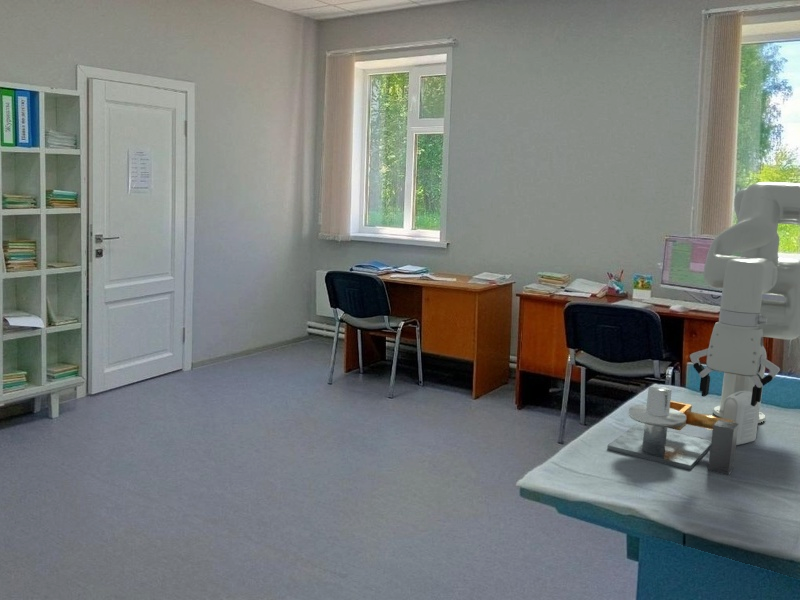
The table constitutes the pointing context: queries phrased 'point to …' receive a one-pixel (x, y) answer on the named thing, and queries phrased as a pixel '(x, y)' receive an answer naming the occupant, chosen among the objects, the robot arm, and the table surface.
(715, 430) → the grey rectangular block
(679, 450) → the ringlock standard
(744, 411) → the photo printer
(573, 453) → the table surface
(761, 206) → the robot arm
